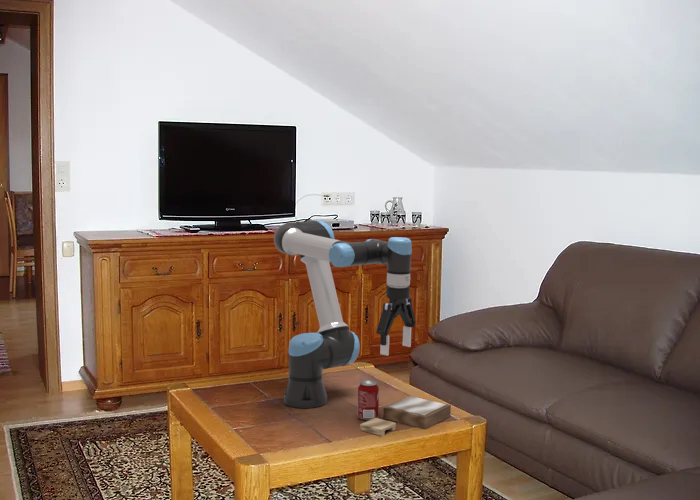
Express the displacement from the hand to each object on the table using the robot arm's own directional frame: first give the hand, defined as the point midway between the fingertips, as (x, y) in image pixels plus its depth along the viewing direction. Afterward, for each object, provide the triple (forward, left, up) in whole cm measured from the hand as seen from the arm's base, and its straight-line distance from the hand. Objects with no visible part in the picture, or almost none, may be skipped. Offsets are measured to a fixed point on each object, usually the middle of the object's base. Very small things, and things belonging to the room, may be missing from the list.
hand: (395, 350), depth 249 cm
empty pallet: (+2, -12, -23) cm, 26 cm away
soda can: (-7, -5, -23) cm, 25 cm away
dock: (+5, +6, -23) cm, 24 cm away
